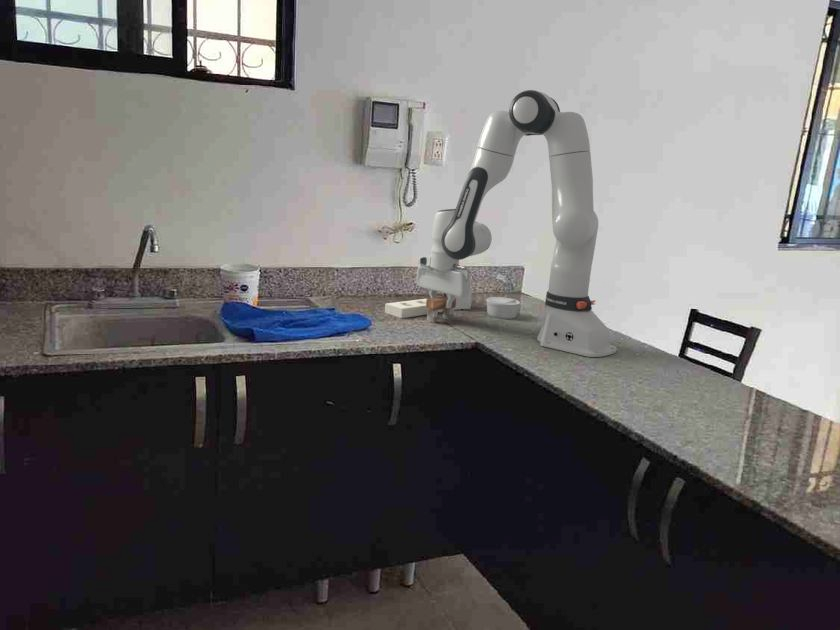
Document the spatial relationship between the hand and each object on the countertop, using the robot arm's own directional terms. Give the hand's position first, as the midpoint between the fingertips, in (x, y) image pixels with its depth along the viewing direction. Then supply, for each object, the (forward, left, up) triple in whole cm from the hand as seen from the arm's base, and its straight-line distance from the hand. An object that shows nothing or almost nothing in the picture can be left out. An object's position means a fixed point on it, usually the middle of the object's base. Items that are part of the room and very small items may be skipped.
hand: (441, 306), depth 206 cm
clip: (0, 0, -5) cm, 5 cm away
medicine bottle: (+11, -19, -5) cm, 22 cm away
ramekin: (-5, -24, -5) cm, 25 cm away
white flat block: (+12, 0, -5) cm, 13 cm away
